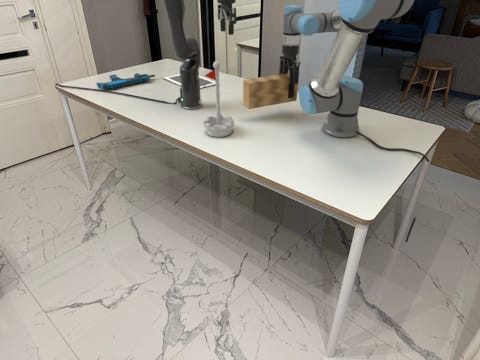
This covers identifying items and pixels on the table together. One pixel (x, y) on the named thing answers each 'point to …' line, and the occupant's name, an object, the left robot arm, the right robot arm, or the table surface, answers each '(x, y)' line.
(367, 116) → the table surface
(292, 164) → the table surface
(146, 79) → the submachine gun
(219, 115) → the flag stand
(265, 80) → the box
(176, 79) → the tablet
